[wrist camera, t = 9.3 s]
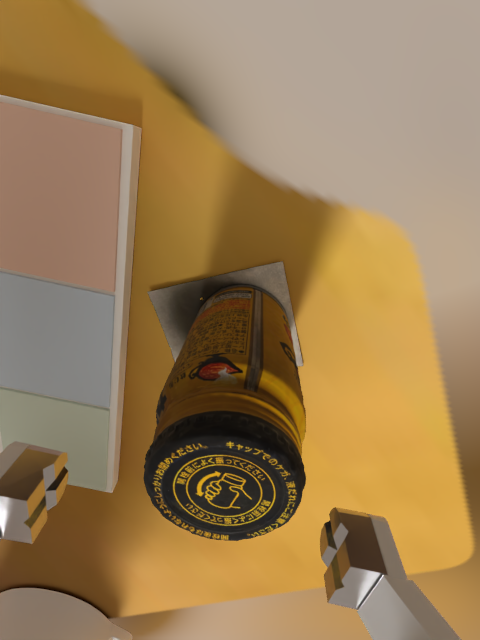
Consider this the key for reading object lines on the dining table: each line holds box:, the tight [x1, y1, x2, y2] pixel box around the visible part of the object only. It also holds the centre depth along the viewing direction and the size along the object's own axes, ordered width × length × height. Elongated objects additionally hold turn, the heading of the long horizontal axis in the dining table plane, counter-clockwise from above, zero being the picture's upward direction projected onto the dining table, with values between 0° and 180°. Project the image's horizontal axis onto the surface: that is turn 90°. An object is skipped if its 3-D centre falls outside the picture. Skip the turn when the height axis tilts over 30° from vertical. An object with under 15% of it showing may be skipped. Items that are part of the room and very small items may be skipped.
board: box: [0, 95, 142, 493], centre depth 21 cm, size 26×11×1 cm, turn 168°
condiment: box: [144, 261, 306, 541], centre depth 16 cm, size 7×8×12 cm
